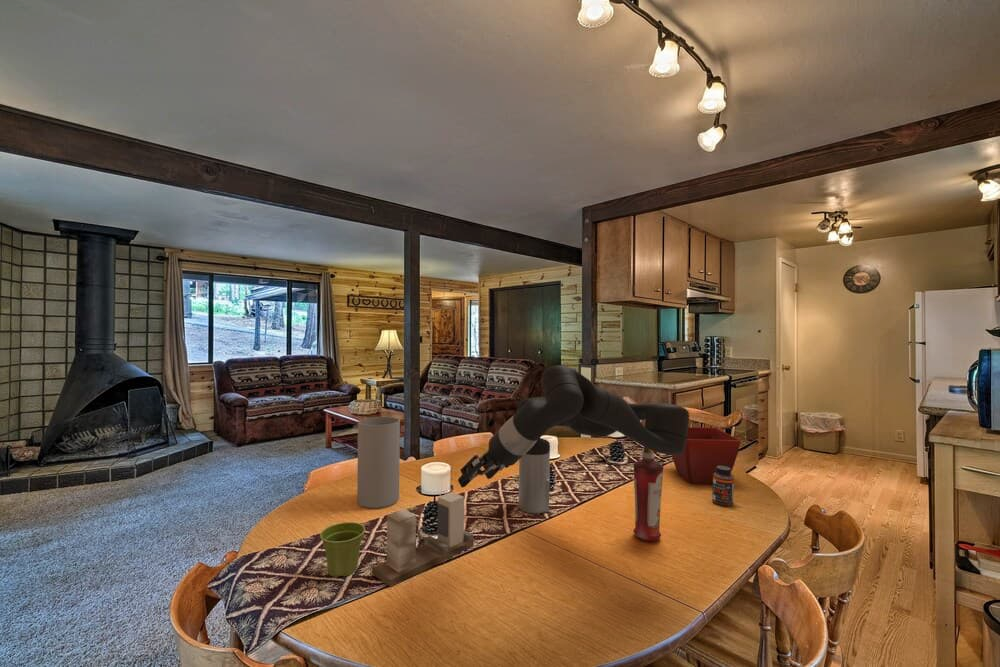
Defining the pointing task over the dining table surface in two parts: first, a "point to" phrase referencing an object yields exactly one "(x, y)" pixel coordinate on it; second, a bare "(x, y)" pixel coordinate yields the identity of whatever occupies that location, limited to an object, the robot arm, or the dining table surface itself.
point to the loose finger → (451, 519)
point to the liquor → (647, 496)
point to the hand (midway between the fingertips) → (474, 479)
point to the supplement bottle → (723, 486)
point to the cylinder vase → (378, 462)
